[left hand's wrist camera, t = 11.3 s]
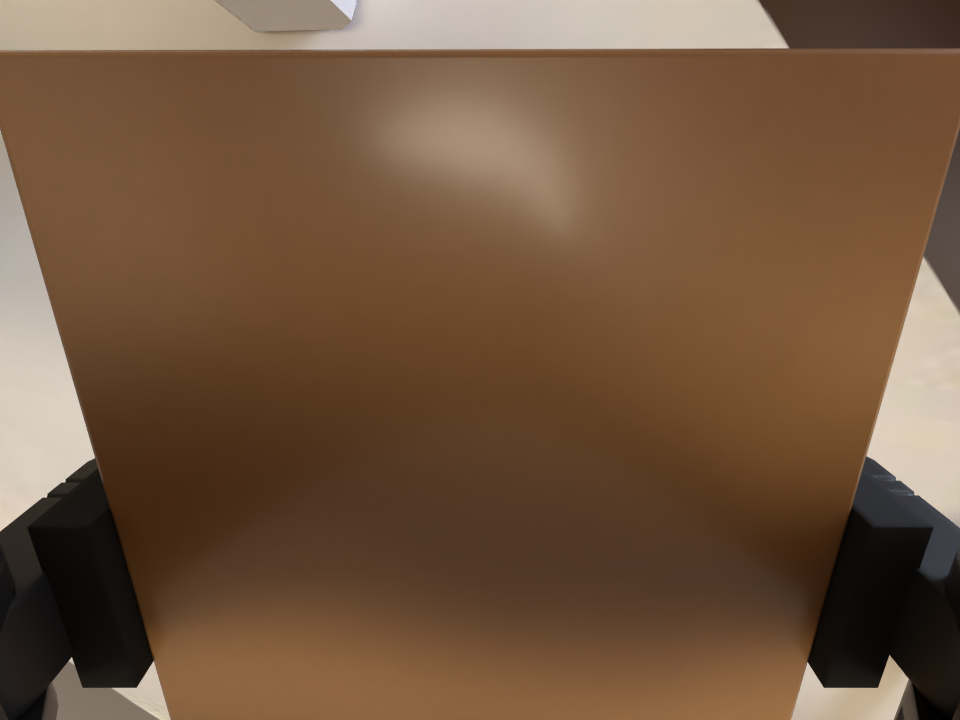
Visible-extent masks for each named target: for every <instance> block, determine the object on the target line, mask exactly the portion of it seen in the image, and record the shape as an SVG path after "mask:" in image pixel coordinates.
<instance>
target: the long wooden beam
mask: <svg viewBox="0 0 960 720" xmlns="http://www.w3.org/2000/svg"><path fill="white" fill-rule="evenodd" d="M0 129H1V133H2V136H3V139H4V143H5V146H6V150H7V153H8V157H9V160H10V164H11V167H12V171H13V174H14V178H15V181H16V185H17V188H18V191H19V195H20V198H21V202H22V205H23V209H24V212H25V216H26V219H27V223H28V226H29V230H30V233H31V237H32V240H33V243H34V247H35V250H36V254H37V257H38V261H39V264H40V268H41V271H42V275H43V278H44V282H45V285H46V289H47V292H48V295H49V299H50V302H51V306H52V309H53V313H54V316H55V320H56V323H57V327H58V330H59V334H60V337H61V341H62V344H63V347H64V351H65V354H66V358H67V361H68V365H69V368H70V372H71V375H72V379H73V382H74V386H75V389H76V393H77V396H78V399H79V403H80V406H81V410H82V413H83V417H84V420H85V424H86V427H87V431H88V434H89V438H90V441H91V445H92V448H93V451H94V455H95V458H96V462H97V465H98V469H99V472H100V476H101V479H102V483H103V486H104V490H105V493H106V497H107V500H108V503H109V507H110V510H111V514H112V517H113V521H114V524H115V528H116V531H117V535H118V538H119V542H120V545H121V549H122V552H123V556H124V559H125V562H126V566H127V569H128V573H129V576H130V580H131V583H132V587H133V590H134V594H135V597H136V601H137V604H138V608H139V611H140V614H141V618H142V621H143V625H144V628H145V632H146V635H147V639H148V642H149V646H150V649H151V653H152V656H153V660H154V663H155V666H156V670H157V673H158V677H159V680H160V684H161V687H162V691H163V694H164V698H165V701H166V705H167V708H168V712H169V715H170V718H171V720H791V718H792V714H793V711H794V707H795V704H796V700H797V697H798V693H799V690H800V686H801V683H802V679H803V676H804V672H805V669H806V665H807V662H808V658H809V655H810V651H811V648H812V644H813V641H814V637H815V634H816V630H817V627H818V623H819V620H820V616H821V612H822V609H823V605H824V602H825V598H826V595H827V591H828V588H829V584H830V581H831V577H832V574H833V570H834V567H835V563H836V560H837V556H838V553H839V549H840V546H841V542H842V539H843V535H844V532H845V528H846V525H847V521H848V518H849V514H850V511H851V507H852V504H853V500H854V497H855V493H856V490H857V486H858V483H859V479H860V476H861V472H862V469H863V465H864V462H865V458H866V455H867V451H868V448H869V444H870V441H871V437H872V434H873V430H874V427H875V423H876V420H877V416H878V413H879V409H880V406H881V402H882V399H883V395H884V392H885V388H886V385H887V381H888V378H889V374H890V371H891V367H892V363H893V360H894V356H895V353H896V349H897V346H898V342H899V339H900V335H901V332H902V328H903V325H904V321H905V318H906V314H907V311H908V307H909V304H910V300H911V297H912V293H913V290H914V286H915V283H916V279H917V276H918V272H919V269H920V265H921V262H922V258H923V255H924V251H925V248H926V244H927V241H928V237H929V234H930V230H931V227H932V223H933V220H934V216H935V213H936V209H937V206H938V202H939V199H940V195H941V192H942V188H943V185H944V181H945V178H946V174H947V171H948V167H949V164H950V160H951V157H952V153H953V149H954V146H955V142H956V139H957V135H958V132H959V129H960V48H833V49H832V48H830V49H828V48H827V49H432V50H36V51H0Z"/></svg>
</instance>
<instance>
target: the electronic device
mask: <svg viewBox="0 0 960 720" xmlns="http://www.w3.org/2000/svg"><path fill="white" fill-rule="evenodd" d="M215 1H216V2H217V3H219V4H220V5H221V6H223V7H224V8H225V9H226V10H228V11H229V12H230V13H232V14H233V15H234V16H235V17H237V18H238V19H239V20H240V21H242V22H243V23H244V24H246V25H247V26H248V27H249V28H251V29H252V30H253V31H255V32H270V31H298V30H325V29H342V28H344V27H345V26H346V25H347V24H348V23H349V22H351V21H352V17H353V14H354V10H355V6H356V2H357V0H215Z"/></svg>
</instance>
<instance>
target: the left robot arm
mask: <svg viewBox="0 0 960 720" xmlns="http://www.w3.org/2000/svg"><path fill="white" fill-rule="evenodd" d="M889 655H890V656H891V657H892V658H893V659H894V661H895V662H896V663H897V664H898V666H899V667H900V668H901V669H902V671H903V672H904V673H905V674H906V676H907V677H908V678H909V681H908V683H907V686H906V689H905V691H904V694H903V697H902V699H901V702H900V705H899V707H898V710H897V713H896V715H895V718H894V720H960V528H959V527H958V526H956V525H955V524H954V523H953V522H951V521H950V520H949V519H948V518H946V517H945V516H944V515H943V514H941V513H940V512H939V511H938V510H936V509H935V508H934V507H932V506H931V505H930V504H929V503H927V502H926V501H925V500H924V499H922V498H921V497H920V496H915V495H914V491H912V490H911V489H910V488H908V487H907V486H906V485H905V484H903V483H902V482H901V481H896V477H895V476H893V475H892V474H891V473H890V472H888V471H887V470H886V469H885V468H883V467H882V466H881V465H879V464H878V463H877V462H876V461H874V460H873V459H871V458H869V457H867V456H866V458H865V462H864V465H863V469H862V472H861V476H860V479H859V483H858V486H857V490H856V493H855V497H854V500H853V504H852V507H851V511H850V514H849V518H848V521H847V525H846V528H845V532H844V535H843V539H842V542H841V546H840V549H839V553H838V556H837V560H836V563H835V567H834V570H833V574H832V577H831V581H830V584H829V588H828V591H827V595H826V598H825V602H824V605H823V609H822V612H821V616H820V620H819V623H818V627H817V630H816V634H815V637H814V641H813V644H812V648H811V651H810V655H809V658H808V663H809V665H810V666H811V668H812V669H813V671H814V673H815V674H816V676H817V677H818V679H819V680H820V682H821V684H822V685H823V687H824V688H878V686H879V683H880V680H881V677H882V674H883V672H884V669H885V666H886V663H887V660H888V657H889ZM71 657H72V658H73V661H74V664H75V667H76V670H77V673H78V676H79V678H80V681H81V684H82V687H83V688H137V686H138V684H139V683H140V681H141V680H142V678H143V677H144V675H145V673H146V672H147V670H148V669H149V667H150V666H151V664H152V662H153V661H154V660H153V656H152V653H151V649H150V646H149V642H148V639H147V635H146V632H145V628H144V625H143V621H142V618H141V614H140V611H139V608H138V604H137V601H136V597H135V594H134V590H133V587H132V583H131V580H130V576H129V573H128V569H127V566H126V562H125V559H124V556H123V552H122V549H121V545H120V542H119V538H118V535H117V531H116V528H115V524H114V521H113V517H112V514H111V510H110V507H109V503H108V500H107V497H106V493H105V490H104V486H103V483H102V479H101V476H100V472H99V469H98V465H97V462H96V458H95V459H93V460H90V461H88V462H87V463H86V464H84V465H83V466H82V467H81V468H79V469H78V470H77V471H76V472H74V473H73V474H72V475H71V476H69V477H68V478H67V479H66V482H65V483H61V484H59V485H58V486H57V487H56V488H54V489H53V490H52V491H51V492H49V493H48V496H47V498H42V499H40V500H39V501H38V502H37V503H35V504H34V505H33V506H32V507H30V508H29V509H28V510H27V511H25V512H24V513H23V514H22V515H20V516H19V517H18V518H17V519H15V520H14V521H13V522H12V523H10V524H9V525H8V526H7V527H5V528H4V529H3V530H2V531H0V720H56V716H57V710H58V701H57V694H56V691H55V689H54V686H53V683H52V681H53V680H54V678H55V677H56V676H57V675H58V673H59V672H60V671H61V670H62V668H63V667H64V666H65V665H66V663H67V662H68V661H69V660H70V658H71Z"/></svg>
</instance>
